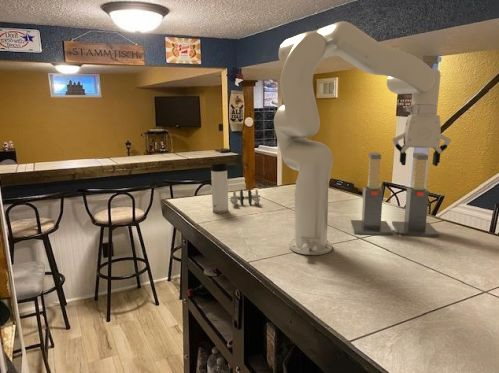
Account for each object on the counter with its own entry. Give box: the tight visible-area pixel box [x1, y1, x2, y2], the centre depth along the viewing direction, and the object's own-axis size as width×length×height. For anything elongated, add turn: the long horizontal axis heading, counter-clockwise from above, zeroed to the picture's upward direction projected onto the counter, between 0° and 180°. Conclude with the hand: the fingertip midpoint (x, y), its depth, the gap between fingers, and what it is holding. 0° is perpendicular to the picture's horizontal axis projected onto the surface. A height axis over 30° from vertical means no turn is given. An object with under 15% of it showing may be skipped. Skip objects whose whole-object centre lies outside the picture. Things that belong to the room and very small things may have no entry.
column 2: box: [411, 152, 429, 191], centre depth 124 cm, size 6×3×19 cm, turn 171°
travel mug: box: [210, 162, 229, 214], centre depth 151 cm, size 6×7×20 cm
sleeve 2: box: [391, 186, 440, 238], centre depth 126 cm, size 12×12×14 cm
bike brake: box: [228, 188, 261, 206], centre depth 168 cm, size 14×7×20 cm
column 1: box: [367, 151, 382, 190], centre depth 126 cm, size 6×3×19 cm, turn 171°
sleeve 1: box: [350, 186, 394, 236], centre depth 128 cm, size 12×12×14 cm
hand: (418, 165), depth 123 cm, fingers open, 9 cm apart
